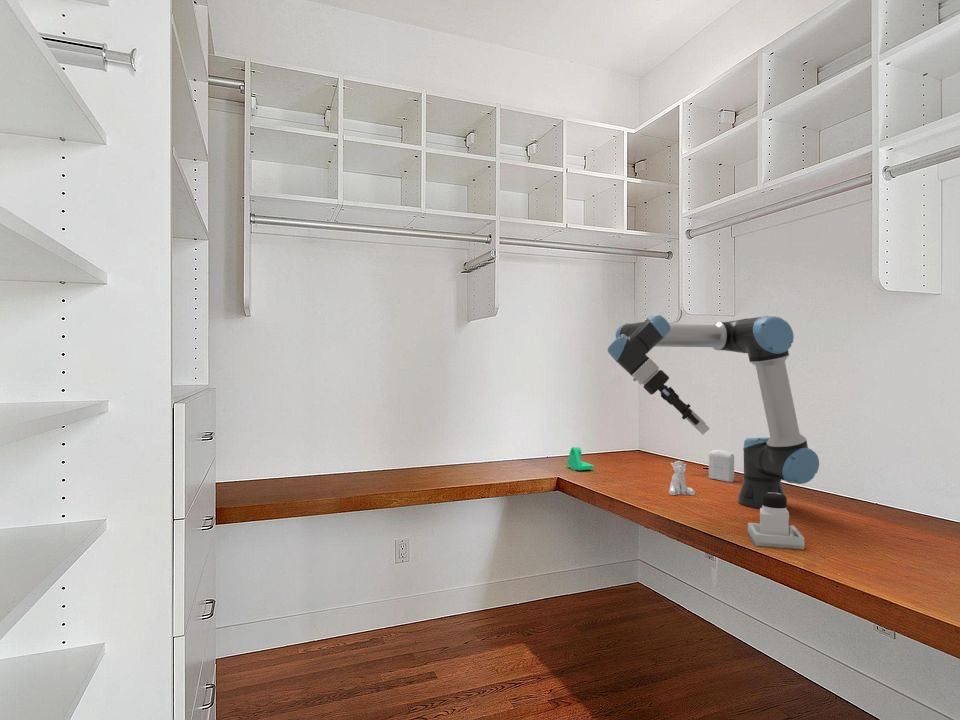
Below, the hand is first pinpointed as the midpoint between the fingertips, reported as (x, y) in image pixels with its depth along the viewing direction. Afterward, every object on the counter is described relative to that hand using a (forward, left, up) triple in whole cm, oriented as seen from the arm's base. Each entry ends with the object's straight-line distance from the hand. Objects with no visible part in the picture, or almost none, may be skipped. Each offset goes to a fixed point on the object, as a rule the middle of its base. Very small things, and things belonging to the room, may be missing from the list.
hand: (704, 428), depth 174 cm
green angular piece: (-87, -46, -30) cm, 103 cm away
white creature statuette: (-48, -5, -30) cm, 57 cm away
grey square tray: (+6, +18, -30) cm, 35 cm away
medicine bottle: (+6, +18, -29) cm, 34 cm away
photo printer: (-78, +13, -30) cm, 84 cm away
